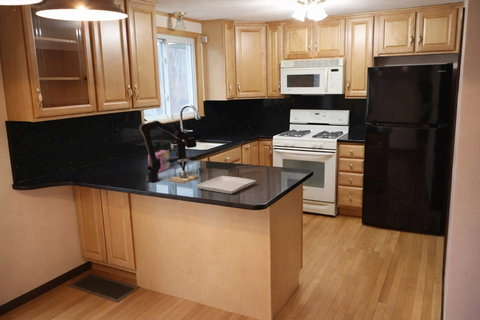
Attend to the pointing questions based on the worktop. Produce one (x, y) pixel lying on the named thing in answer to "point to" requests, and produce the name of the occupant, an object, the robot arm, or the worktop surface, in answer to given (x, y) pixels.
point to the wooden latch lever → (182, 174)
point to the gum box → (162, 159)
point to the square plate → (226, 184)
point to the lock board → (183, 179)
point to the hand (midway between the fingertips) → (183, 171)
